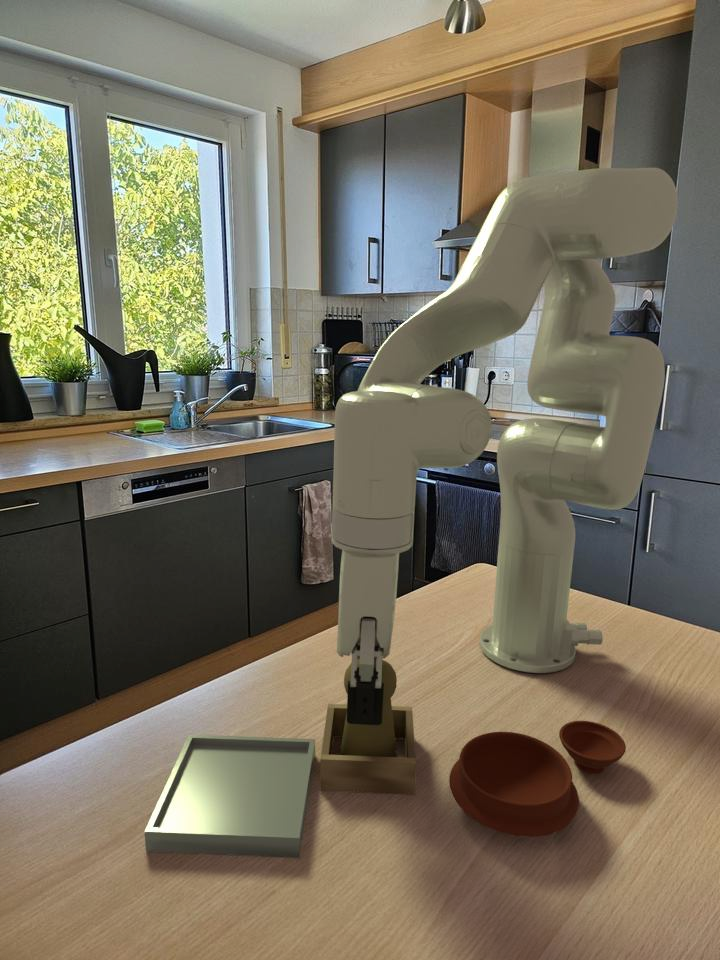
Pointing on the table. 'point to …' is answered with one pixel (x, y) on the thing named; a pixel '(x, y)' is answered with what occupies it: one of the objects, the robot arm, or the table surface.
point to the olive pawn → (373, 736)
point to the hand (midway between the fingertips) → (365, 693)
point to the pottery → (529, 777)
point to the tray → (235, 797)
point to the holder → (368, 759)
